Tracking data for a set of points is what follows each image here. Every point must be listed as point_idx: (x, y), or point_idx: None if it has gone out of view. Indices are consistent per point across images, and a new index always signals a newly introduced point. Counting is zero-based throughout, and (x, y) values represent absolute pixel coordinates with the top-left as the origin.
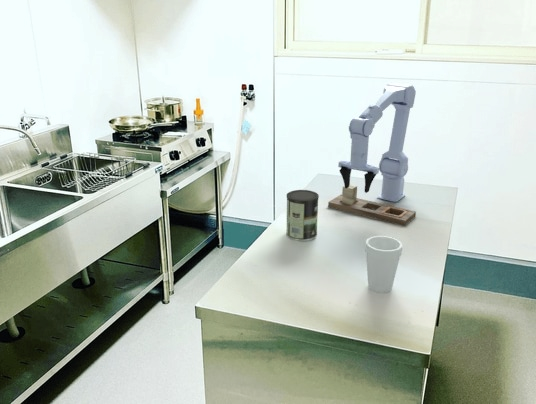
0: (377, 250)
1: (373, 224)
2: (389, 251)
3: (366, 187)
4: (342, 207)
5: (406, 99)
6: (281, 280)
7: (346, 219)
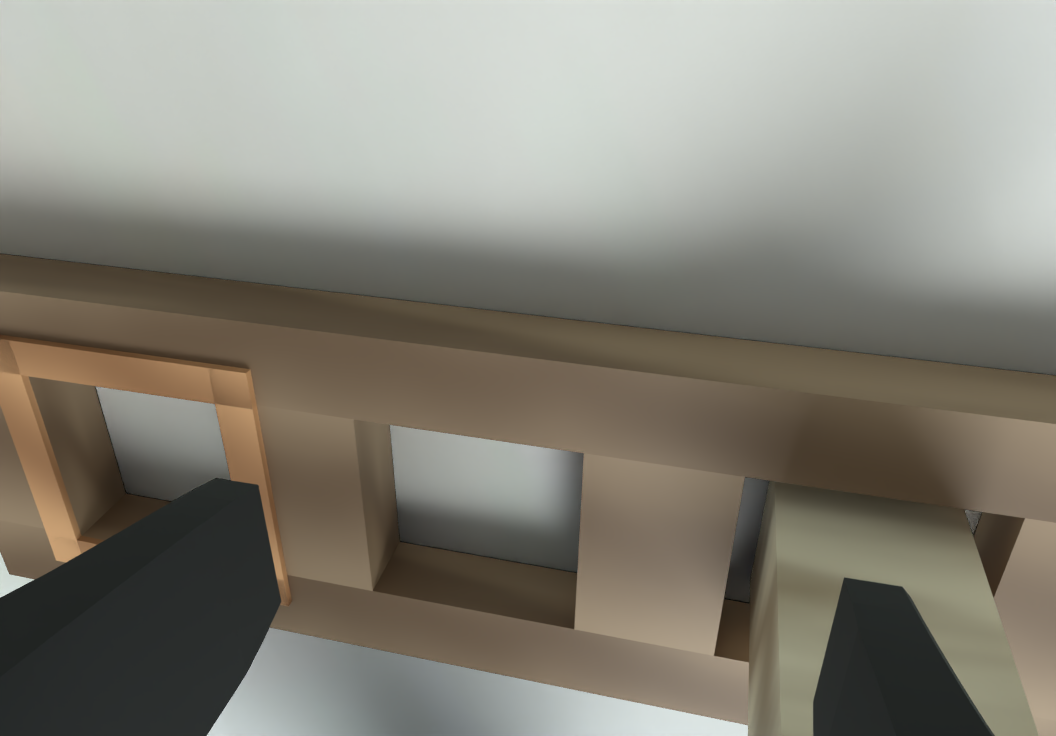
0: None
1: (235, 71)
2: None
3: (87, 563)
4: (903, 384)
5: None
6: None
7: (686, 14)
